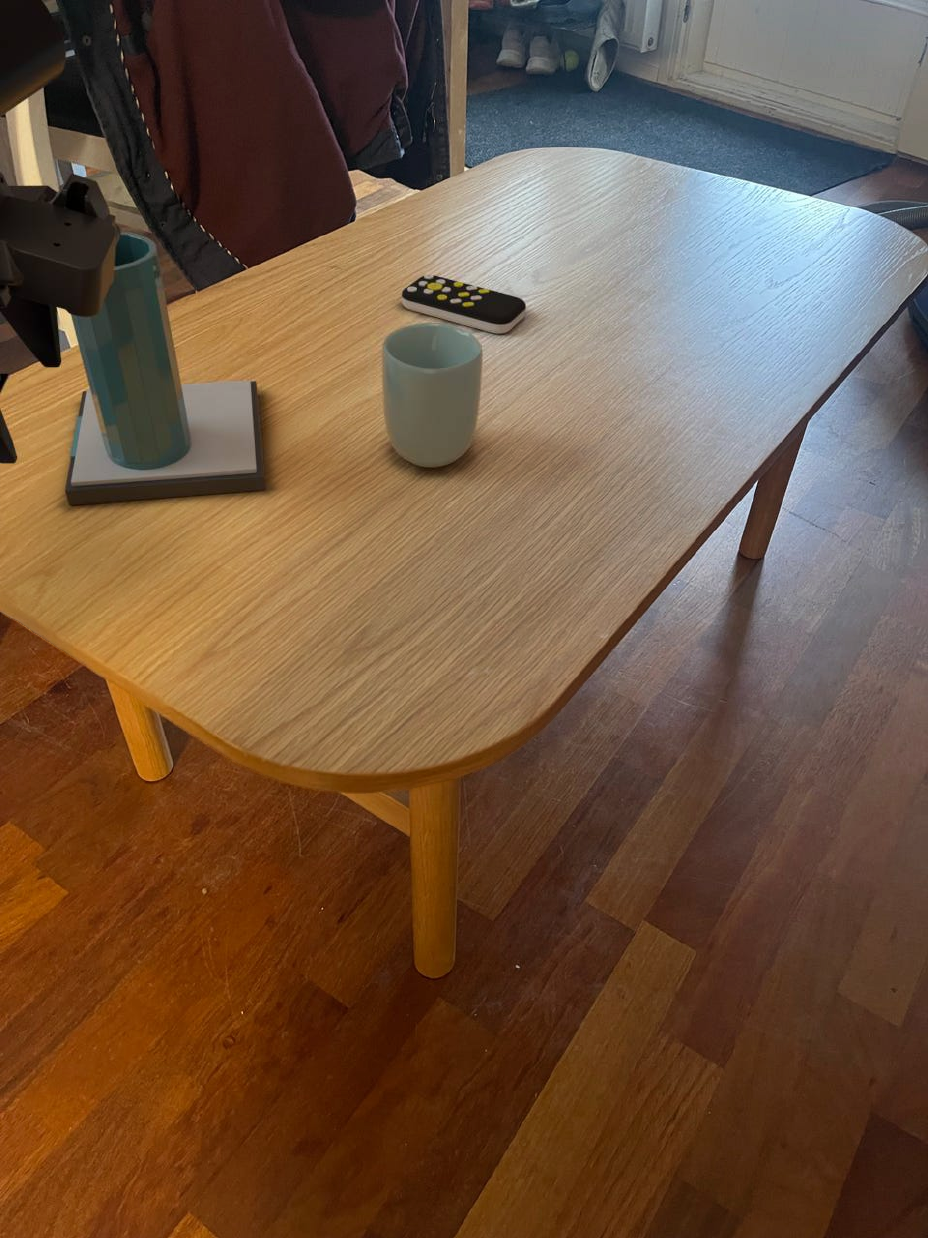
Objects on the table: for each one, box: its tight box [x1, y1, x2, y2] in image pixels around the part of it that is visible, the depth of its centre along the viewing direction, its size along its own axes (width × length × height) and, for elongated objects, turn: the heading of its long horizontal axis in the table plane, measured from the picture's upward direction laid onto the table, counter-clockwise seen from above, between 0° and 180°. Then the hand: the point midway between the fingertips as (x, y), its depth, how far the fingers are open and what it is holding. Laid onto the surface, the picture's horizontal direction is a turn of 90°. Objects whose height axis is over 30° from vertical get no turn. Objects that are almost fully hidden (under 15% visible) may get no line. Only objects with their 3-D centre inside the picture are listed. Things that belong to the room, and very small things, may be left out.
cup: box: [381, 322, 484, 468], centre depth 77 cm, size 8×8×10 cm
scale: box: [64, 379, 266, 506], centre depth 79 cm, size 15×15×2 cm
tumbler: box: [70, 231, 191, 470], centre depth 71 cm, size 7×7×16 cm
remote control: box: [401, 273, 527, 334], centre depth 100 cm, size 6×13×2 cm, turn 63°
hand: (32, 411), depth 60 cm, fingers open, 9 cm apart
